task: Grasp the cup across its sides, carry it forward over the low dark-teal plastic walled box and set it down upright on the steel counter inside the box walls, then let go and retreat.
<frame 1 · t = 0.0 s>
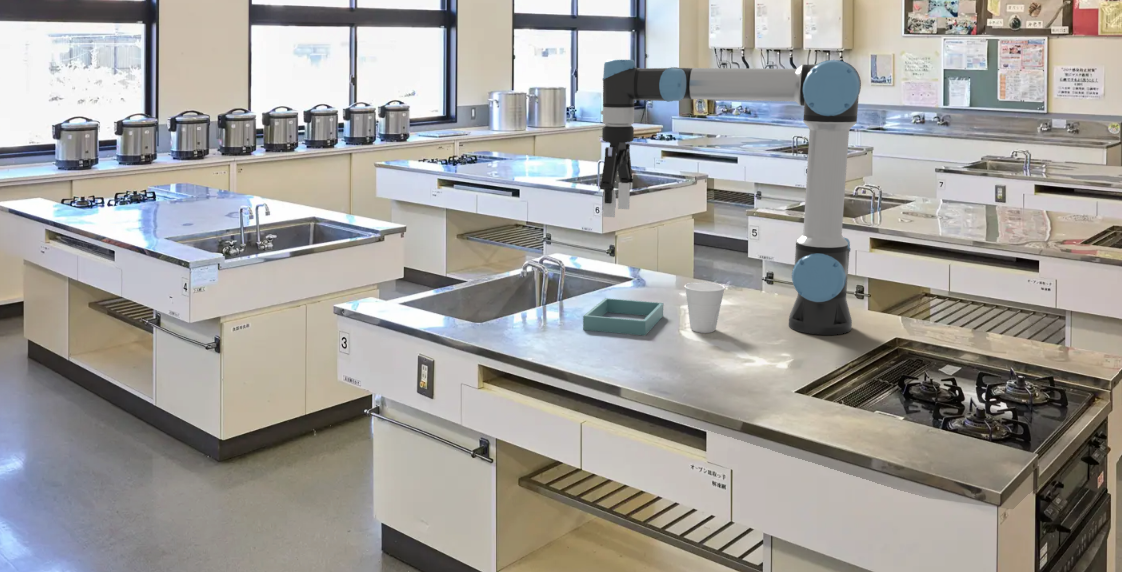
hand: (616, 212, 243), 28 cm above the table, fingers open, 13 cm apart
walled box: (624, 322, 250), on the table
cup: (702, 330, 244), on the table
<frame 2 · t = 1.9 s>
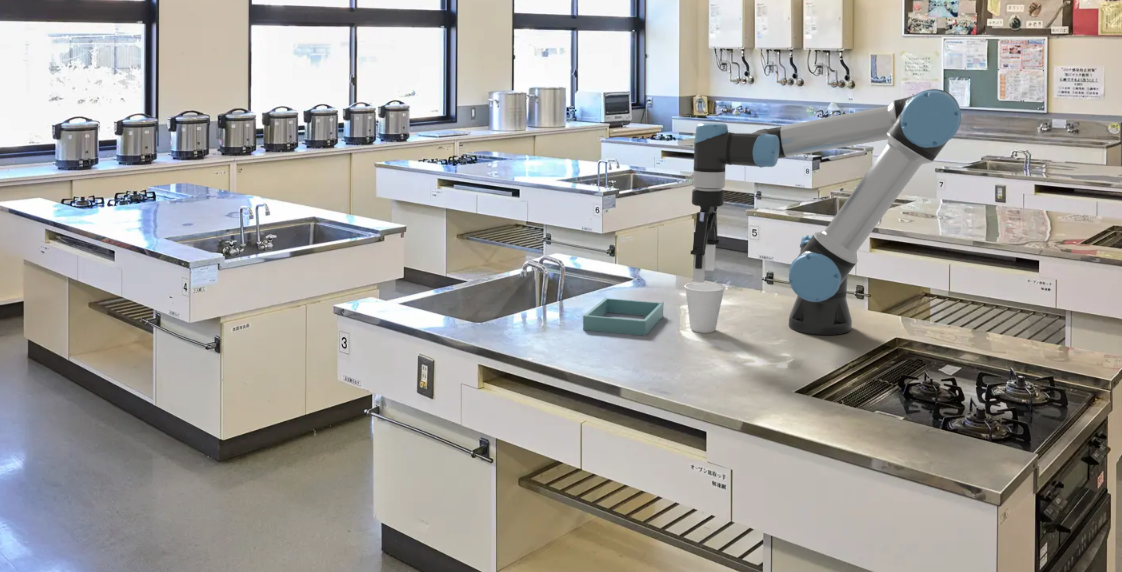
hand: (703, 276, 241), 14 cm above the table, fingers open, 13 cm apart
nothing on the table moved.
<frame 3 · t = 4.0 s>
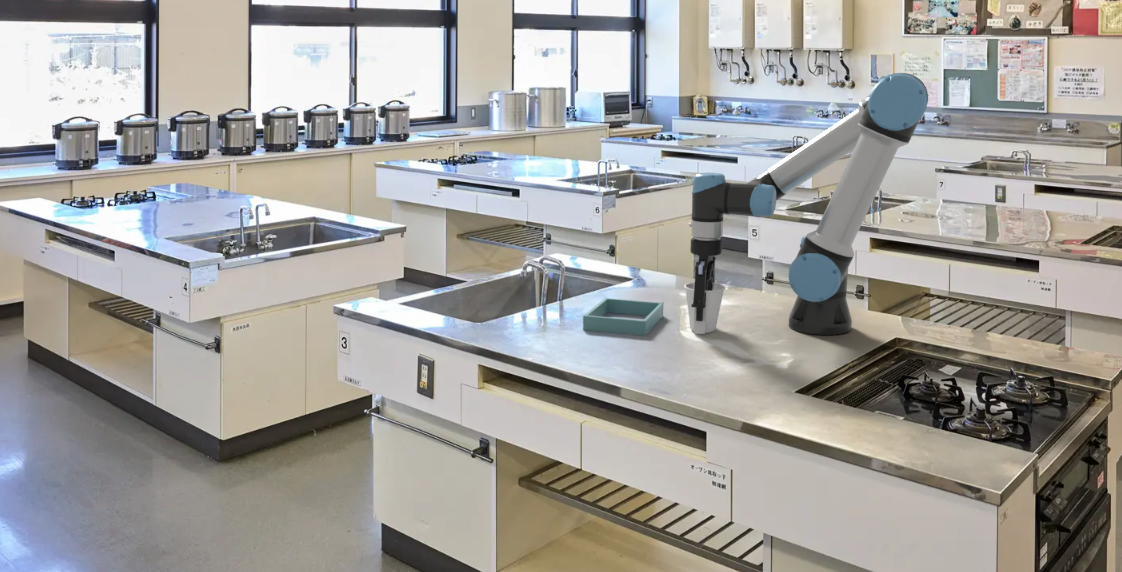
hand: (702, 328, 244), 0 cm above the table, fingers closed on cup, 8 cm apart
cup: (702, 330, 244), on the table, touching gripper
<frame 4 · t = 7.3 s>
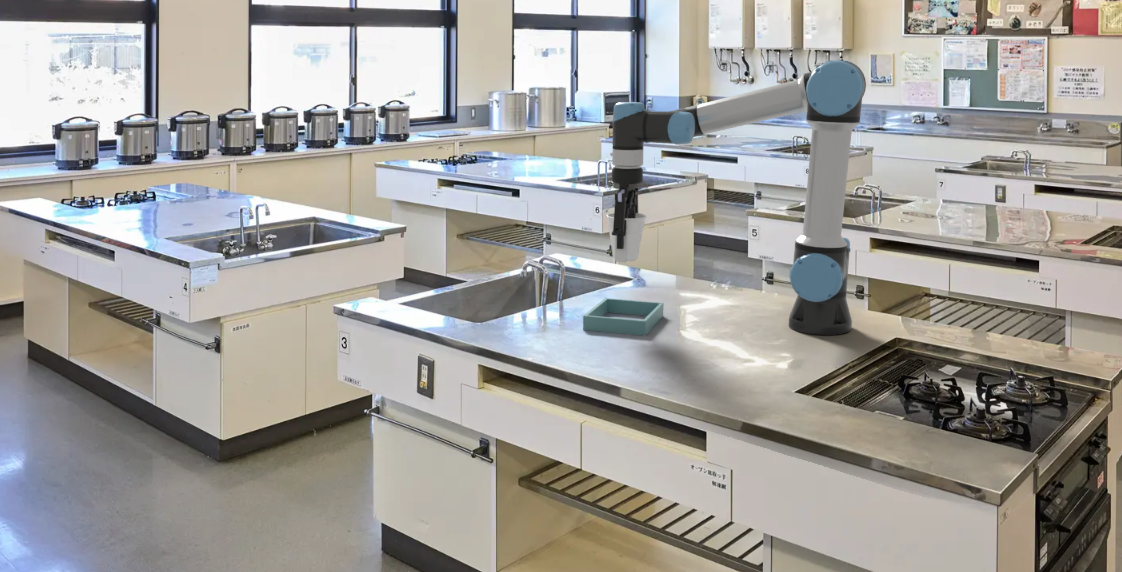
hand: (625, 258, 246), 17 cm above the table, fingers closed on cup, 8 cm apart
cup: (625, 260, 246), point 16 cm above the table, touching gripper
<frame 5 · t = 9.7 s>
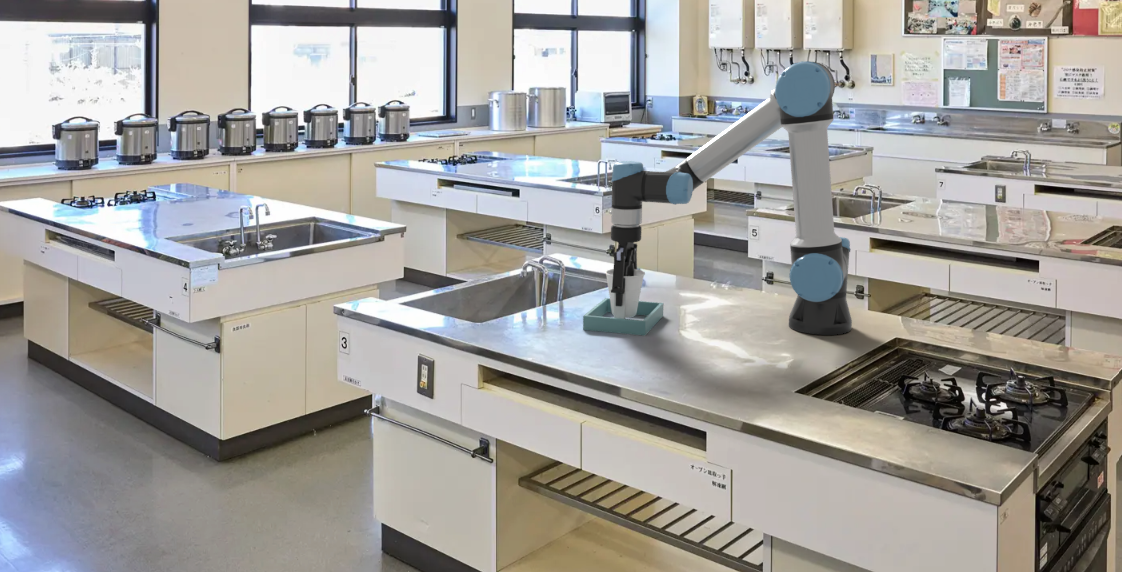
hand: (624, 313, 249), 2 cm above the table, fingers closed on cup, 8 cm apart
cup: (624, 315, 250), point 2 cm above the table, touching gripper
when the fingers open (2 cm above the table, at t = 10.8 s): cup moves 4 cm, on the table.
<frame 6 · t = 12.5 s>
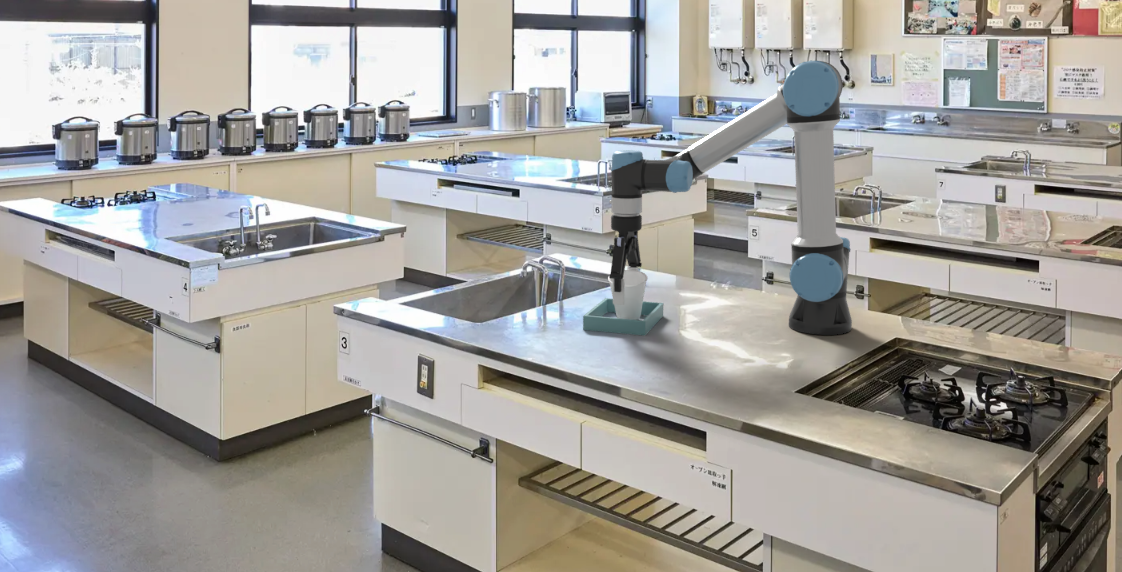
hand: (625, 298, 248), 6 cm above the table, fingers open, 13 cm apart
cup: (628, 317, 253), on the table
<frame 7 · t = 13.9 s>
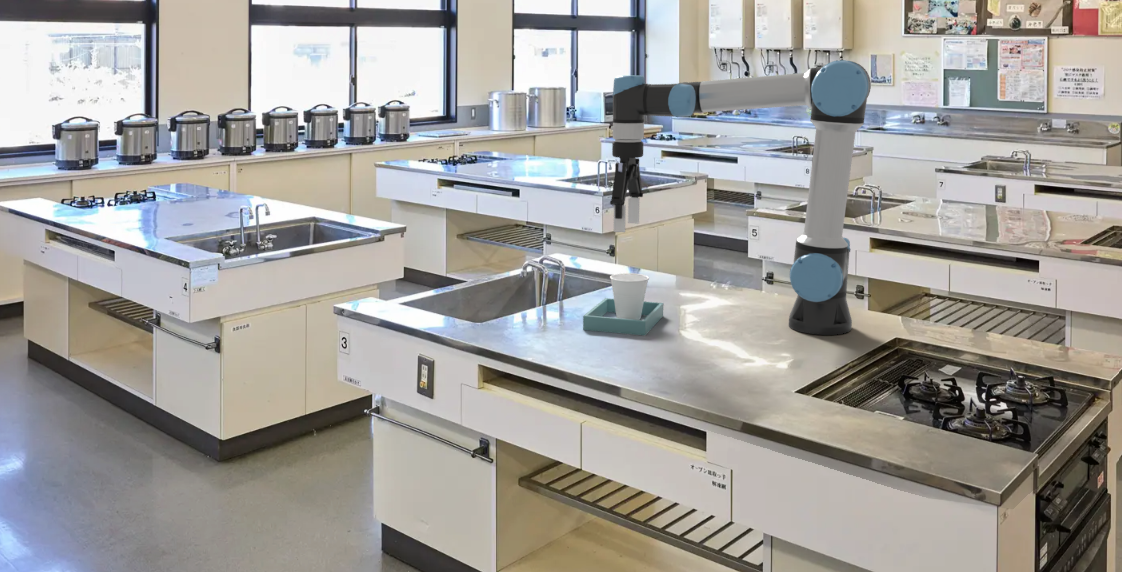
hand: (626, 227, 245), 24 cm above the table, fingers open, 13 cm apart
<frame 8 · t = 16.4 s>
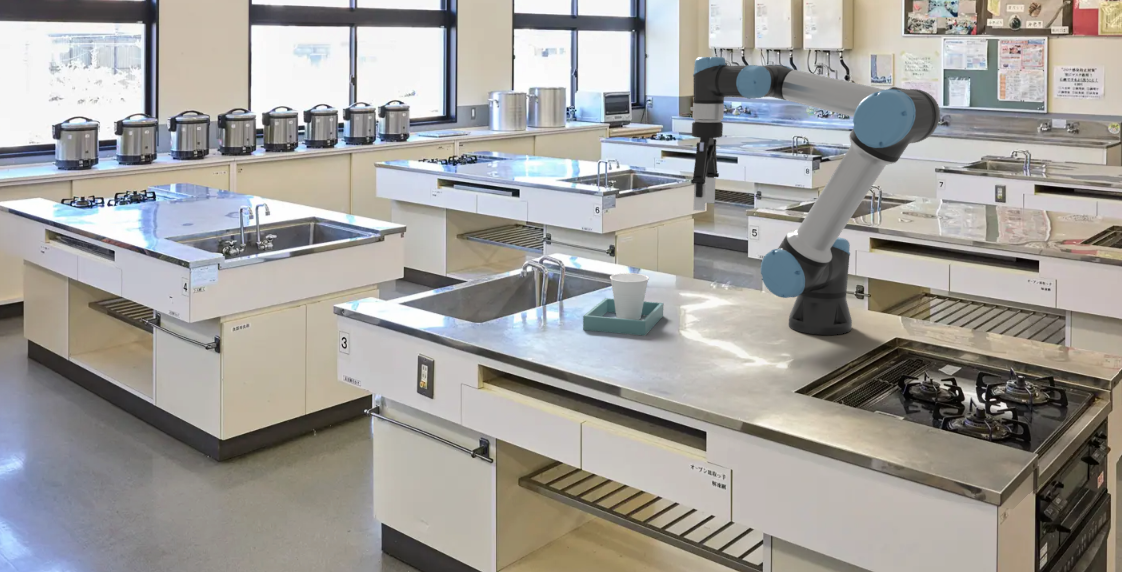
hand: (704, 206, 249), 29 cm above the table, fingers open, 13 cm apart
at the end: cup 3.6 cm from the walled box (horizontally); cup tilted 0°; the gripper is holding nothing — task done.
